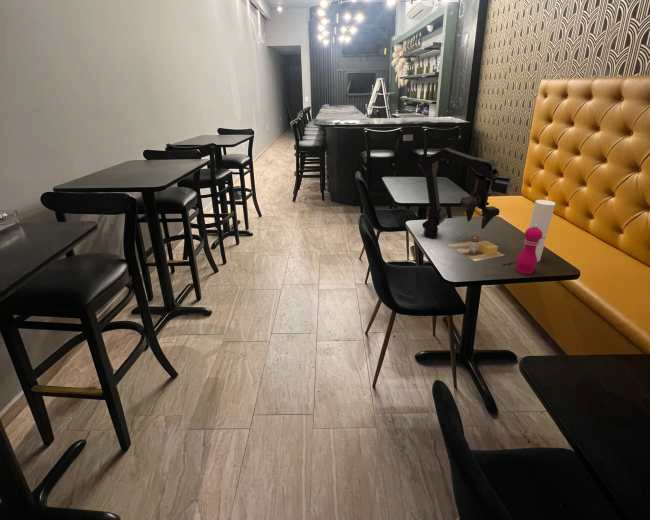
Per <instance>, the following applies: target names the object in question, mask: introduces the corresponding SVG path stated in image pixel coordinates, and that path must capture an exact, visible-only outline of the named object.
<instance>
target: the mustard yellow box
mask: <svg viewBox="0 0 650 520" xmlns="http://www.w3.org/2000/svg"><path fill="white" fill-rule="evenodd" d="M498 249H499V246H498V245H495V244H494V243H492V242H490V241H488V240H482V241H479V243H478V248H477V250H478V251H479V252H481V253H483V254H485V255H487V256H489V255H494V254H497V251H498Z"/></svg>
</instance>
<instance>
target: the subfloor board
mask: <svg viewBox="0 0 650 520" xmlns="http://www.w3.org/2000/svg"><path fill="white" fill-rule="evenodd" d="M470 242H471V240H467V241H462V242H456V243H451V244H447V246H449V247H450V248H452V249H453V250H455V251H457V252H459V253H461V254H462V255H464V256H465V257H467V258H468V259H470V260H472V261H474V262H476V261H477V262H478V261H482V260H483V261H484V260H487V259H488V260H489V259H493V258H497V257H502V256H503V257H504V256H505V254H504V253H501V252H499V251H498V250H497V254H494V255H489V256H487V255H485V254H483V253H481V252H479V251H478V250H477V254H476V255H469V248H470Z"/></svg>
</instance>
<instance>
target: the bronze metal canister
mask: <svg viewBox="0 0 650 520" xmlns="http://www.w3.org/2000/svg"><path fill="white" fill-rule="evenodd" d="M470 241H471V242H470V248H469V255H476V254H477V248H478V243H479V242H480V236H479V235H475V234H474V235H471V238H470Z"/></svg>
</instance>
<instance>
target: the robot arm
mask: <svg viewBox="0 0 650 520" xmlns="http://www.w3.org/2000/svg"><path fill="white" fill-rule="evenodd" d="M444 159H446V160H448V161H452V162H455V163H456V164H460V165H463V166H466V167H469V168H470V169H472V170H473V171H474V172H476V174H475V175H473V176H472V177H471V179H473V180H476V183H475V187H474V189H475V190H474V191H472V192H471V195H469V196H462V198H461V199H460V202H459V203H460V204H461V207H462V208H463V209H464V210H465V213H466V220H467V222H468V223H469V222H471V221H472V219H473V215H474V212H475V211H476V208H477V209H479V210H481V214H480V216H481V218H482V219H481V226H480V227H481V228H480V229H481V230H483V229H485V228H486V226H487V225H488V224H489V223H490V221H492V219H493V218H494V217H495V218H496V216H499V215H500V212H501V211H500V209H499V208H497V207H496V206H493V205H491V206H490V202H488V200H489V197H491V196H492V193H496V194H501V195H505V196H508V195H509V194H510V192H511V189H512V181H511V180H512V178H511V177H510V176H509V177H508V176H506V177H504V176H501V175H500V174H499V173H500V172H499V171H498V169H497V165H496V164H497V163H496V162H495V160H494V159H491V158H486V157H476V156H472V155H469V154H466V153H463V152H460V151H457V150H455V149H452V148H450V147H445V148H442V149H441V150H439V151H437V152H435V153H434V154H428V155H425V156H423V157H421V159H420V161H419V165H420V169H421V171H422V173H423V175H424V176H425V181H426V189H427V197H428V204H429V208H428V213H427V220H425V221H424V222H423V223H421V225H422V228H423V236H424V237H425V238H427V239H431V240H436V239H438V234H439V228H438V227H439V226H440V225H441V224H442V223H443V222H444V221H445V219H446V217H447V214H446V208H445V207H442V206H441V202H440V195H439V186H438V179H437V172H438V168H439V162H441V161H443V160H444ZM490 191H492V193H491V192H490Z"/></svg>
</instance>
